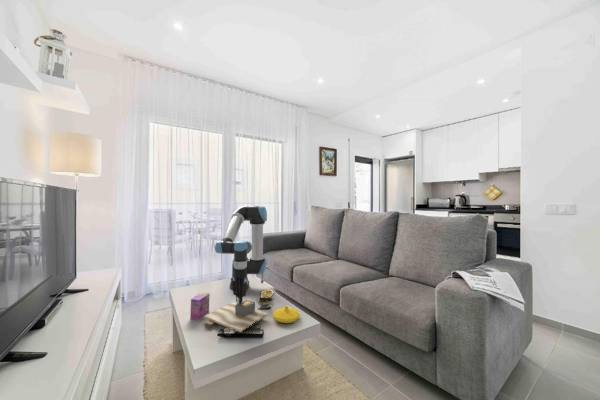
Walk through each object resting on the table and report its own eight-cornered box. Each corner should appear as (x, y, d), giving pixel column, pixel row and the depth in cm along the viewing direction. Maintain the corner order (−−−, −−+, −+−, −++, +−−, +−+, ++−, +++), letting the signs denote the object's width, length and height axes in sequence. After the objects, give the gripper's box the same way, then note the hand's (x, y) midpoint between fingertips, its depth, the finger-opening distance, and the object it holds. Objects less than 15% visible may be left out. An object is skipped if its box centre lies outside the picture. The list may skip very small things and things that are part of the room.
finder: (245, 308, 148) (246, 299, 148) (254, 310, 144) (255, 301, 144) (235, 313, 140) (235, 304, 140) (244, 317, 137) (244, 307, 137)
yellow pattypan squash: (297, 312, 151) (297, 301, 151) (302, 325, 136) (302, 312, 136) (271, 314, 149) (272, 302, 149) (273, 327, 133) (273, 314, 133)
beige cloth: (232, 307, 156) (232, 302, 156) (267, 319, 142) (267, 313, 142) (198, 324, 134) (198, 318, 134) (236, 340, 120) (236, 333, 120)
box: (199, 320, 138) (199, 299, 138) (190, 319, 140) (190, 298, 140) (209, 312, 149) (209, 293, 149) (200, 311, 150) (201, 292, 150)
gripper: (227, 267, 145) (226, 307, 145) (243, 271, 138) (242, 312, 138) (236, 264, 151) (235, 302, 151) (252, 268, 145) (251, 308, 144)
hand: (239, 307), depth 144 cm, fingers closed
